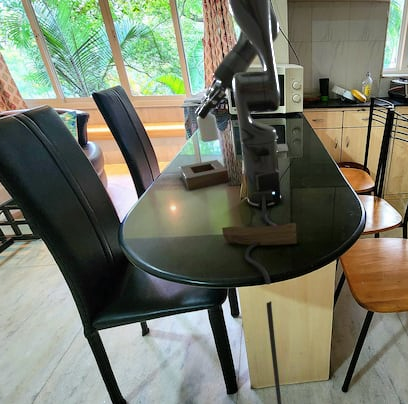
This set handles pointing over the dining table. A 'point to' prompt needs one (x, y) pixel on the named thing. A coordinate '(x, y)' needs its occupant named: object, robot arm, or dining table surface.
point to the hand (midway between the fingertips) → (199, 116)
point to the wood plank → (262, 234)
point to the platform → (282, 147)
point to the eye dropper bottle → (207, 127)
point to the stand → (204, 174)
